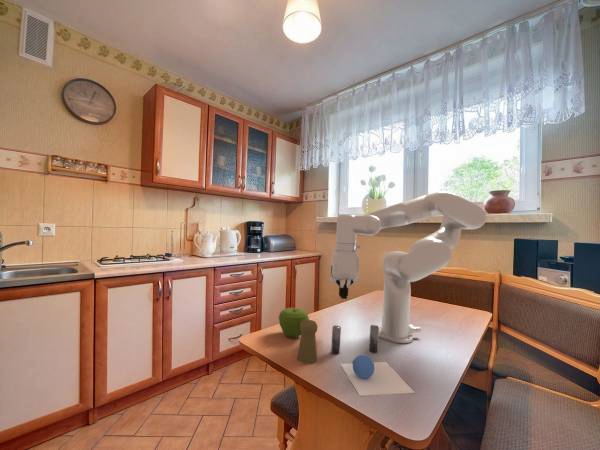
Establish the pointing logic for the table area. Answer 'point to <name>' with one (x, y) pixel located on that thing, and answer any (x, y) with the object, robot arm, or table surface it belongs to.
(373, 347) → the post
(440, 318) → the table surface
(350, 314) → the table surface
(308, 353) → the olive pawn shape
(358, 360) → the ball
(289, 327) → the apple
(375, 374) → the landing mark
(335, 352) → the post
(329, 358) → the table surface
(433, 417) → the table surface
